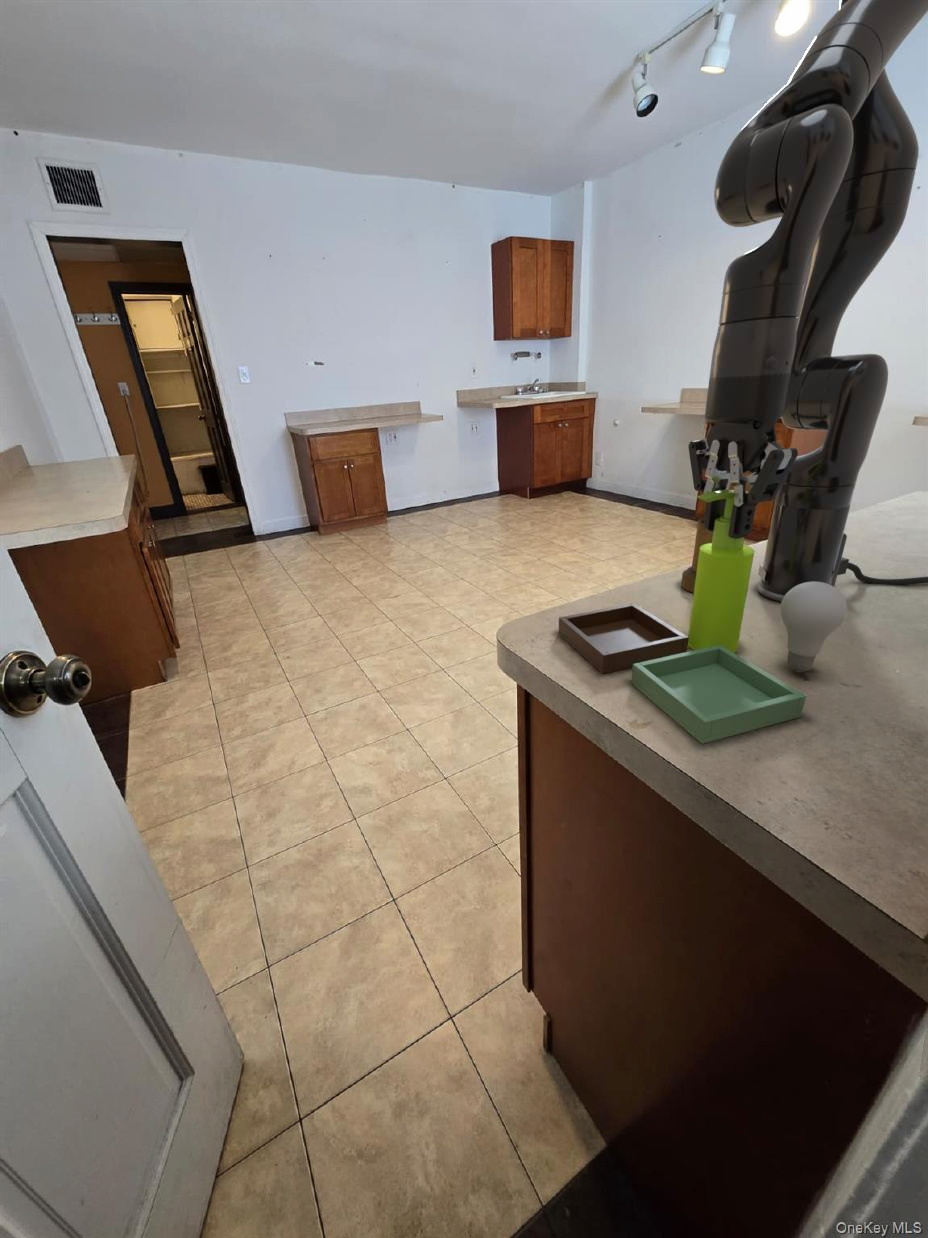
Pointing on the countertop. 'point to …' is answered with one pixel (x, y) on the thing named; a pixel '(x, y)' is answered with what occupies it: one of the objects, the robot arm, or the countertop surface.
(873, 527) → the countertop surface
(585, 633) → the walnut tray
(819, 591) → the lightbulb
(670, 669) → the green tray
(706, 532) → the wooden pepper mill
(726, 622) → the soap dispenser
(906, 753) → the countertop surface
